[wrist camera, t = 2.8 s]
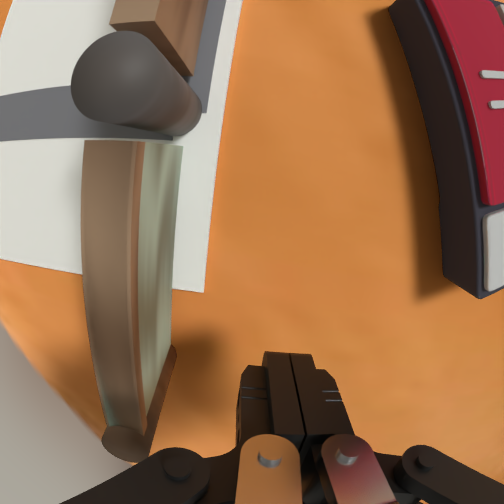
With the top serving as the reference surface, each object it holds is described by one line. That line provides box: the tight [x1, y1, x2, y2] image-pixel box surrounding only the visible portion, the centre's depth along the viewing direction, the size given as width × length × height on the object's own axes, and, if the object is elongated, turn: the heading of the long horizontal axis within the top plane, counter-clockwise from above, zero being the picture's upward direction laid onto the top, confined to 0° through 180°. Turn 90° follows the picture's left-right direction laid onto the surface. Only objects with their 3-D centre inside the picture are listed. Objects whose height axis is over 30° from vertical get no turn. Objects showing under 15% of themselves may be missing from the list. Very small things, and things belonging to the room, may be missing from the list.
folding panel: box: [81, 140, 183, 463], centre depth 11 cm, size 11×2×6 cm, turn 172°
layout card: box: [0, 0, 243, 292], centre depth 12 cm, size 18×14×1 cm
